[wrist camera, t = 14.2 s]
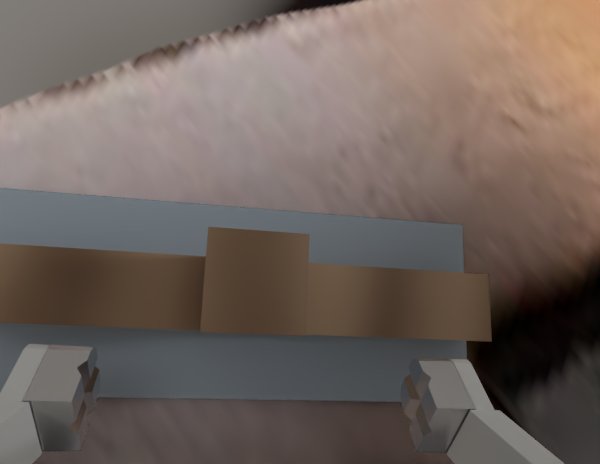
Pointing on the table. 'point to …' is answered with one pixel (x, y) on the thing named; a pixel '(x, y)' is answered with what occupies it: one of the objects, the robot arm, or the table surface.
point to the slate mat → (228, 346)
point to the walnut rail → (239, 291)
